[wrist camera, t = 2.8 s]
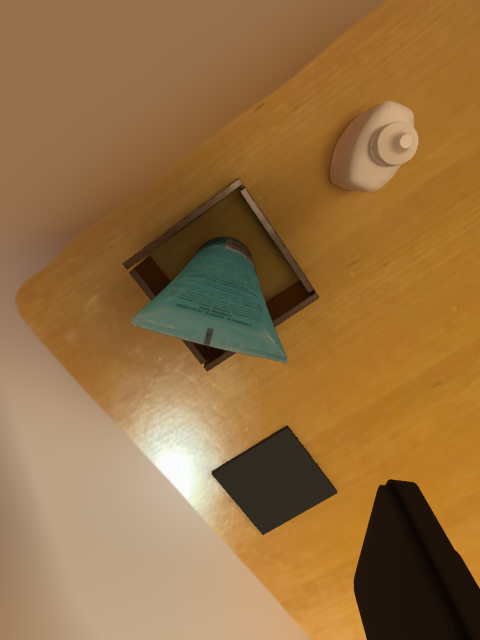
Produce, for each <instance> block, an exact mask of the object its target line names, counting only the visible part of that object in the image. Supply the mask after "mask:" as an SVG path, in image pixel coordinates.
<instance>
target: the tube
mask: <svg viewBox="0 0 480 640" xmlns="http://www.w3.org/2000/svg"><path fill="white" fill-rule="evenodd" d="M131 325H133V326H136V327H140V328H143V329H147V330H150V331H153V332H156V333H160V334H164V335H168V336H172V337H176V338H179V339H183V340H187V341H191V342H195V343H198V344H203V345H207V346H210V347H214V348H218V349H223V350H226V351H231V352H235V353H239V354H245V355H250V356H256V357H262V358H267V359H271V360H275V361H279V362H282V363H288V361H287V357H286V354H285V352H284V349H283V347H282V345H281V342H280V340H279V338H278V335H277V333H276V330H275V328H274V325H273V322H272V320H271V317H270V314H269V311H268V309H267V306H266V303H265V300H264V297H263V293H262V290H261V287H260V284H259V281H258V277H257V274H256V271H255V267H254V264H253V260H252V257H251V255H250V252H249V251H248V249H247V248H246V247H245V245H244V244H242V243H241V242H240V241H238V240H236V239H234V238H231V237H217V238H214V239H211V240H209V241H208V242H206V243H205V244H204V245H203V246H202V247H201V248H200V250H199V251H198V252H197V253H196V255H195V256H194V257H193V258H192V260H191V261H190V262H189V263H188V264H187V265H186V267H185V268H184V269H183V270H182V271H181V272H180V273H179V274H178V275H177V276H176V278H175V279H174V280H173V281H172V282H171V283H170V284H169V285H168V286H167V287H166V288H165V289H163V290H162V291H161V292H160V293H159V294H158V295H157V296H156V297H155V298H154V299H152V300H151V301H150V302H149V303H148V304H147V305H146V306H144V307H143V308H142V309H141V310H140V311H139V312H138V313H136V314H135V316H134V317H133V318H132V321H131Z"/></svg>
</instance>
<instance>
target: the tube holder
mask: <svg viewBox="0 0 480 640" xmlns="http://www.w3.org/2000/svg"><path fill="white" fill-rule="evenodd" d="M241 185H243V183H242V181H241V180H240V179H239V178H238V179H237V180H236V181H234V182H233V183H231V184H230V185H229V186H227V187H226V188H225V189H223V190H222V191H221V192H219V193H218V194H217V195H215V196H214V197H213V198H211V199H210V200H208V201H207V202H206V203H204V204H203V205H202V206H200V207H199V208H198V209H196V210H195V211H194V212H192V213H191V214H190V215H188V216H187V217H185V218H184V219H183V220H181V221H180V222H179V223H177V224H176V225H175V226H173V227H172V228H171V229H169V230H168V231H166V232H165V233H164V234H162V235H161V236H160V237H158V238H157V239H156V240H154V241H153V242H152V243H150V244H149V245H148V246H146V247H145V248H143V249H142V250H141V251H139V252H138V253H137V254H135V255H134V256H133V257H131V258H130V259H129V260H127V261H126V262H125V263H123V265H124V267H125V268H126V269H128V268H130V267H131V266H132V265H134V264H135V263H136V262H138V261H139V260H141V259H142V258H143V257H145V256H146V255H147V254H149V253H150V252H151V251H153V250H154V249H156V248H157V247H158V246H160V245H161V244H162V243H164V242H165V241H166V240H168V239H169V238H170V237H172V236H173V235H175V234H176V233H177V232H179V231H180V230H181V229H183V228H184V227H185V226H187V225H188V224H190V223H191V222H192V221H194V220H195V219H196V218H198V217H199V216H200V215H202V214H203V213H205V212H206V211H207V210H209V209H210V208H211V207H213V206H214V205H215V204H217V203H218V202H219V201H221V200H222V199H224V198H225V197H226V196H228V195H229V194H230V193H232V192H233V191H234V190H236V189H237V188H239V187H240V186H241ZM240 193H241V195H242V196H243V198H244V199H245V201H246V202H247V203H248V205H249V206H250V208H251V209H252V211H253V212H254V214H255V215H256V217H257V218H258V220H259V221H260V223H261V224H262V226H263V227H264V228H265V230H266V231H267V233H268V234H269V236H270V237H271V239H272V240H273V242H274V243H275V245H276V246H277V248H278V249H279V251H280V252H281V254H282V255H283V256H284V258H285V259H286V261H287V262H288V264H289V265H290V267H291V268H292V270H293V271H294V273H295V274H296V276H297V277H298V279H299V281H298V282H296V283H295V284H293V285H292V286H290V287H289V288H287V289H286V290H284V291H283V292H281V293H280V294H279V295H277V296H276V297H274V298H273V299H271V300H270V301H268V302H267V303H266V306H267V309H268V311H269V314H270V317H271V320H272V322H273V325H274V327H276V326H277V325H279V324H280V323H282V322H283V321H285V320H286V319H288V318H289V317H291V316H292V315H294V314H295V313H297V312H299V311H300V310H302V309H303V308H305V307H306V306H308V305H309V304H311V303H312V302H314V301H315V300H317V299H318V298H319V296H318V294H317V293H316V291H315V290H314V288H313V287H312V285H311V284H310V282H309V281H308V279H307V278H306V276H305V275H304V273H303V272H302V270H301V269H300V267H299V266H298V264H297V263H296V261H295V260H294V258H293V257H292V256H291V254H290V253H289V251H288V250H287V248H286V247H285V245H284V244H283V242H282V241H281V239H280V238H279V236H278V235H277V233H276V232H275V230H274V229H273V227H272V226H271V224H270V223H269V221H268V220H267V218H266V217H265V215H264V214H263V212H262V211H261V210H260V208H259V207H258V205H257V204H256V202H255V201H254V199H253V198H252V196H251V195H250V193H249V192H248V190H247V189H246V187H243V188H242V189H240ZM129 273H130V274H131V275H132V277H133V278H134V279H135V281H136V282H137V283H138V284H139V286H140V287H141V288H142V289H143V291H144V292H145V293H146V295H147V296H148V297H149V298H150V300H152V299H154V298H155V297H156V296H157V295H158V294H159V293H160V292H161V291H162V290H163V289H165V288H166V287H167V286H168V285H169V284H170V281H169V280H168V279H167V277H166V276H165V275H164V274H163V272H162V271H161V270H160V268H159V267H158V266H157V264H156V263H155V262H154V260H153V259H152V258H151V257H150V256H149V257H148V258H146V259H145V260H144V261H142V262H141V263H140V264H139V265H137V266H136V267H135V268H134V269H133V270H131V271H130V272H129ZM182 340H183V339H182ZM183 342H184V343H185V344H186V346H187V347H188V348H189V349H190V351H191V352H192V353H193V354H194V356H195V357H196V358H197V360H198V361H199V362H200V363H201V364H203V363H204V362H205V363H204V368H205V370H206V371H209V370H211V369H212V368H214V367H215V366H217V365H218V364H220V363H221V362H223V361H224V360H226V359H227V358H229V357H230V356H232V355H233V354H235V352H231V351H226V350H223V349H218V348H214V347H210V346H207V345H203V344H198V343H195V342H191V341H187V340H183Z"/></svg>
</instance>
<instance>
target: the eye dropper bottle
mask: <svg viewBox="0 0 480 640" xmlns="http://www.w3.org/2000/svg"><path fill="white" fill-rule="evenodd" d="M417 147H418V135H417V133H416V131H415V129H414V115H413V112H412V111H411V110H410V109H409V108H407V107H405V106H403V105H401V104H399V103H396V102H394V101H385V102H383V103H381V104H379V105H377V106H375V107H373V108H371V109H369V110H367V111H366V112H364V113H362V114H360V115H359V116H357V117H356V118H355V119H354V120H353V121H352V122H351V123H350V124H349V125H348V127H347V128H346V129H345V131H344V132H343V134H342V135H341V137H340V139H339V140H338V142H337V145H336V147H335V149H334V152H333V156H332V160H331V165H330V180H331V182H332V183H333V184H335V185H337V186H339V187H341V188H343V189H346V190H348V191H358V192H375V191H377V190H379V189H380V188H382V187H383V186H384V185H385V184H386V183H387V182H388V181H389V180H390V179H391V178H392V177H393V176H394V175H395V173H396V172H397V171H398V169H399V168H400V166H401V165H402V164H404V163H406V162H407V161H409V160H410V159H411V157H413V156H414V154H415V152H416V150H417Z"/></svg>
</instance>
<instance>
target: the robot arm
mask: <svg viewBox="0 0 480 640" xmlns="http://www.w3.org/2000/svg"><path fill="white" fill-rule="evenodd" d="M354 593H355V597H356V601H357V605H358V608H359V612H360V616H361V619H362V623H363V627H364V630H365V634H366V638H367V640H480V588H479V587H478V585H477V583H476V582H475V580H474V578H473V576H472V575H471V573H470V571H469V570H468V568H467V566H466V564H465V563H464V561H463V559H462V558H461V556H460V555H459V554H458V552H457V551H455V550H454V548H453V546H452V545H451V543H450V541H449V539H448V538H447V536H446V534H445V532H444V531H443V529H442V527H441V525H440V524H439V522H438V520H437V518H436V517H435V515H434V513H433V511H432V510H431V508H430V506H429V505H428V503H427V501H426V499H425V498H424V496H423V494H422V492H421V491H420V489H419V487H418V486H417V484H416V483H414V482H407V481H399V480H391V479H390V480H388V481H387V483H386V485H380V486H379V487H378V490H377V494H376V497H375V501H374V505H373V509H372V512H371V516H370V520H369V524H368V527H367V531H366V535H365V539H364V542H363V546H362V550H361V554H360V557H359V561H358V565H357V569H356V572H355V577H354Z"/></svg>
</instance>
